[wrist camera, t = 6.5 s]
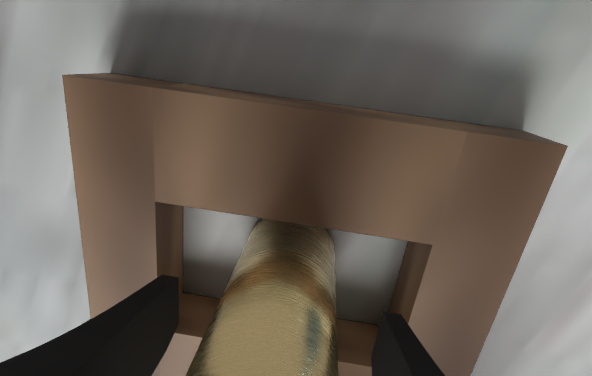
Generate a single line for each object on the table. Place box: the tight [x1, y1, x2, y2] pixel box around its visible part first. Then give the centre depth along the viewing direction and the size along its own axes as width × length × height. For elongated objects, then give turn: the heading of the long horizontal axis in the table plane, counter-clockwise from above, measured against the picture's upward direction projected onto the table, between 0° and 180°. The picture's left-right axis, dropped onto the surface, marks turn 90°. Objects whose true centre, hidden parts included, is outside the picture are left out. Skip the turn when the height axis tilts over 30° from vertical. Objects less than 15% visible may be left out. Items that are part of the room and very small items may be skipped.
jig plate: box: [62, 73, 568, 376], centre depth 14 cm, size 16×14×2 cm
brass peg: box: [185, 219, 339, 376], centre depth 12 cm, size 4×4×8 cm
